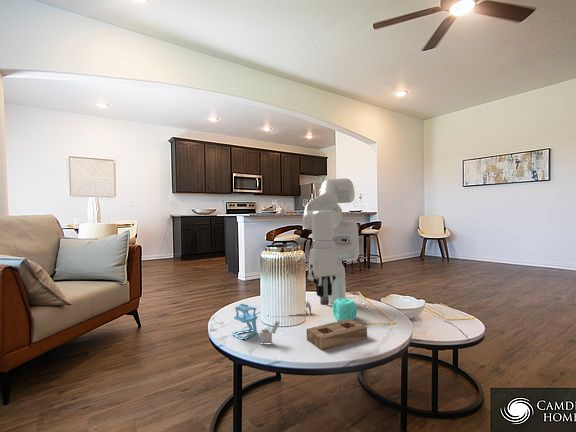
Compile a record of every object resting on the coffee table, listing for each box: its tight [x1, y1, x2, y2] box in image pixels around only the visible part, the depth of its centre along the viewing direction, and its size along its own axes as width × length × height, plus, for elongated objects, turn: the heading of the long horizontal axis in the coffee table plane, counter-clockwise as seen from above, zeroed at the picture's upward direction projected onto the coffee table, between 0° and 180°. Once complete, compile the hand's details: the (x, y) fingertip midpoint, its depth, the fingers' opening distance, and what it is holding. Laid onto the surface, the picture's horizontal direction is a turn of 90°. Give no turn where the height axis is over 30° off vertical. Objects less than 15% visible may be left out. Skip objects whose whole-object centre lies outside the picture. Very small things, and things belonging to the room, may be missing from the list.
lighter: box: [259, 320, 280, 344], centre depth 108 cm, size 7×2×8 cm, turn 87°
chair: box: [231, 303, 258, 339], centre depth 117 cm, size 8×8×12 cm
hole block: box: [306, 319, 368, 351], centre depth 111 cm, size 10×20×4 cm, turn 117°
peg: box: [319, 276, 329, 306], centre depth 108 cm, size 3×3×10 cm
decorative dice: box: [332, 298, 358, 322], centre depth 131 cm, size 8×8×8 cm
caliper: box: [304, 300, 312, 315], centre depth 139 cm, size 20×1×6 cm, turn 92°
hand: (324, 294), depth 108 cm, fingers closed on peg, 3 cm apart
